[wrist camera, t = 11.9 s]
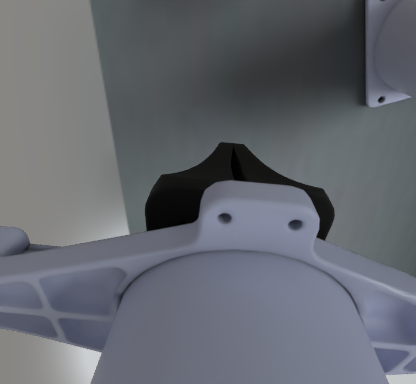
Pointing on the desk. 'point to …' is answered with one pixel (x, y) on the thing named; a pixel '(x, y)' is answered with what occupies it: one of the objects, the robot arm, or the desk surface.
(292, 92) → the desk surface
